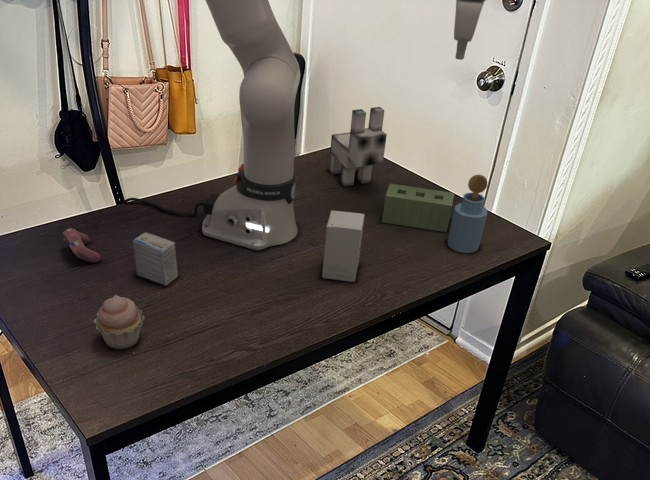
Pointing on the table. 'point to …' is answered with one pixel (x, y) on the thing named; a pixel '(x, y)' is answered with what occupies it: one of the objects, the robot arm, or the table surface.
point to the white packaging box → (342, 245)
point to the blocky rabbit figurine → (358, 147)
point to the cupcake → (119, 322)
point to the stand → (417, 207)
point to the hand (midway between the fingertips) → (461, 52)
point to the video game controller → (80, 245)
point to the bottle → (467, 224)
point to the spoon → (477, 185)
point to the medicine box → (155, 258)
